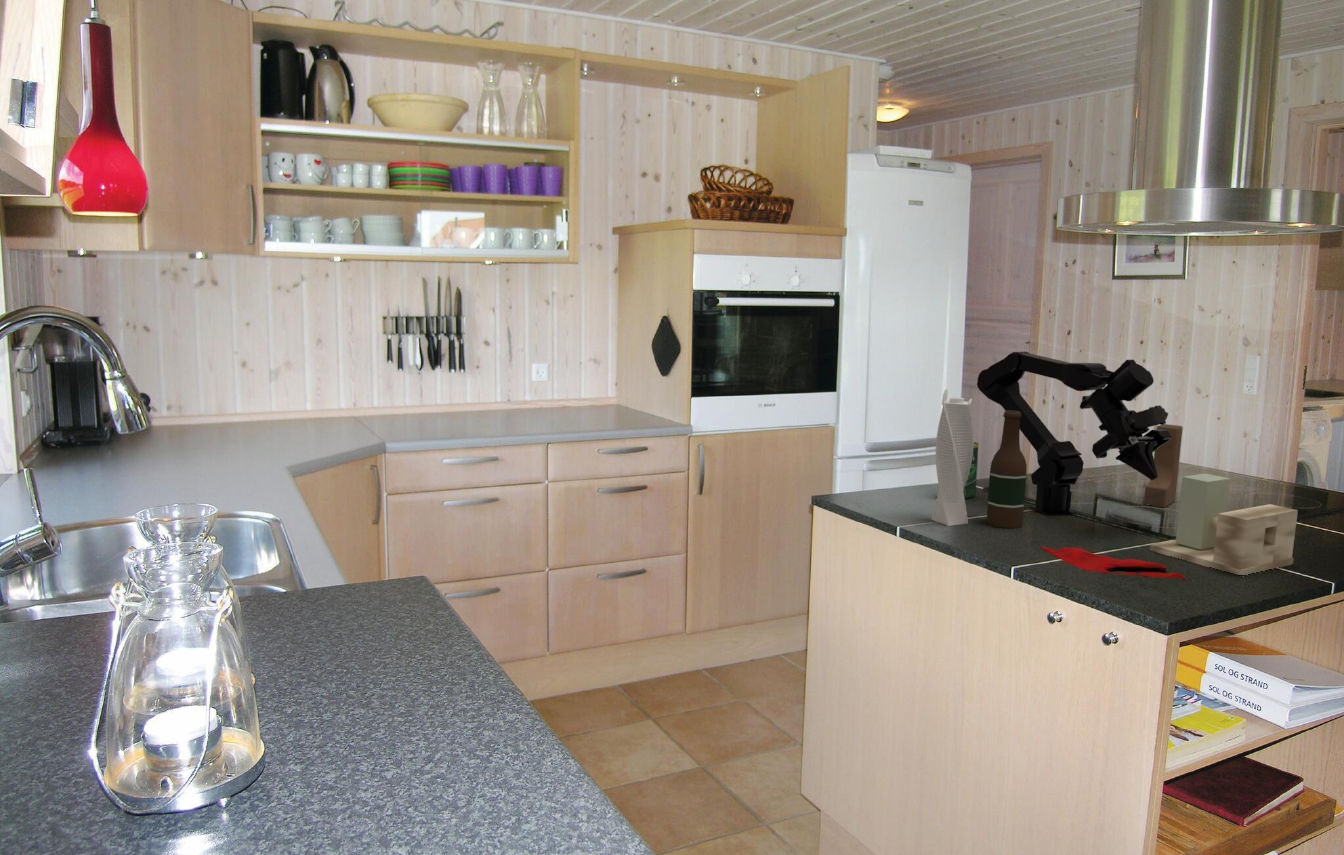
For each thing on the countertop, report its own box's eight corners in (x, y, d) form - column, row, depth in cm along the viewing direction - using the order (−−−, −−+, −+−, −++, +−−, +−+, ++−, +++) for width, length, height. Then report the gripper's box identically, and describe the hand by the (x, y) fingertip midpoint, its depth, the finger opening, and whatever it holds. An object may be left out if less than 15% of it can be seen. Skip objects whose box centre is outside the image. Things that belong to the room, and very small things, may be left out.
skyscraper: (922, 518, 204) (930, 388, 200) (950, 515, 207) (959, 387, 202) (947, 527, 197) (955, 393, 192) (975, 524, 200) (984, 392, 195)
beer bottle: (1030, 524, 201) (1038, 411, 197) (1014, 531, 195) (1023, 415, 191) (994, 517, 206) (1002, 407, 202) (978, 523, 201) (986, 410, 197)
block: (1175, 542, 183) (1182, 476, 181) (1197, 538, 186) (1204, 473, 184) (1221, 555, 175) (1229, 486, 173) (1243, 550, 178) (1251, 482, 176)
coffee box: (952, 501, 220) (956, 445, 218) (943, 499, 222) (946, 443, 220) (976, 497, 224) (980, 442, 222) (966, 495, 227) (970, 440, 224)
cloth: (1020, 555, 181) (1021, 543, 180) (1064, 544, 188) (1065, 533, 188) (1153, 594, 159) (1154, 581, 159) (1197, 581, 167) (1198, 568, 167)
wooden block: (1164, 508, 217) (1172, 430, 214) (1143, 504, 220) (1150, 427, 217) (1175, 501, 223) (1183, 425, 220) (1154, 498, 226) (1162, 423, 223)
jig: (1149, 550, 183) (1155, 498, 181) (1200, 540, 190) (1206, 490, 189) (1241, 576, 168) (1248, 520, 166) (1292, 564, 175) (1299, 510, 174)
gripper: (1114, 392, 186) (1158, 459, 179) (1170, 390, 196) (1214, 454, 189) (1073, 424, 194) (1114, 490, 187) (1129, 421, 204) (1170, 483, 197)
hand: (1155, 478), depth 190 cm, fingers closed
